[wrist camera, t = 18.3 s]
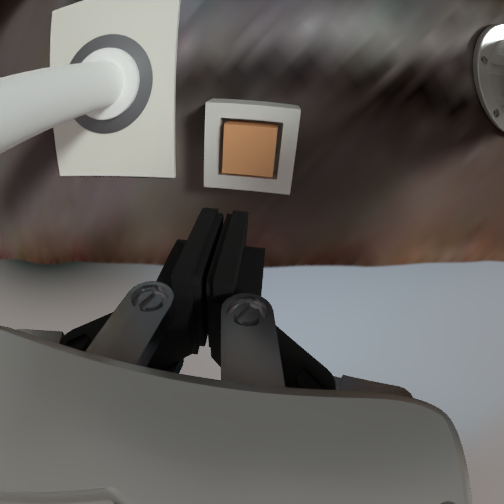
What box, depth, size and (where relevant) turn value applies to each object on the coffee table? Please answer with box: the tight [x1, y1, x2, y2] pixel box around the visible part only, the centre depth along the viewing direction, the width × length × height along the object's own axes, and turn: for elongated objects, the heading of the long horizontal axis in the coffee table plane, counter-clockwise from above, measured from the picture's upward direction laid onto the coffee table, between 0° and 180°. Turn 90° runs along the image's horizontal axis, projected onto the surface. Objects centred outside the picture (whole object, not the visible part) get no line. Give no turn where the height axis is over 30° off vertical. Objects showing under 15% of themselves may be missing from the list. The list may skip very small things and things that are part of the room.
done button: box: [222, 120, 278, 177], centre depth 23 cm, size 4×4×2 cm
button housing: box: [204, 99, 301, 195], centre depth 24 cm, size 7×7×3 cm
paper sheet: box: [50, 0, 181, 178], centre depth 22 cm, size 14×19×1 cm
